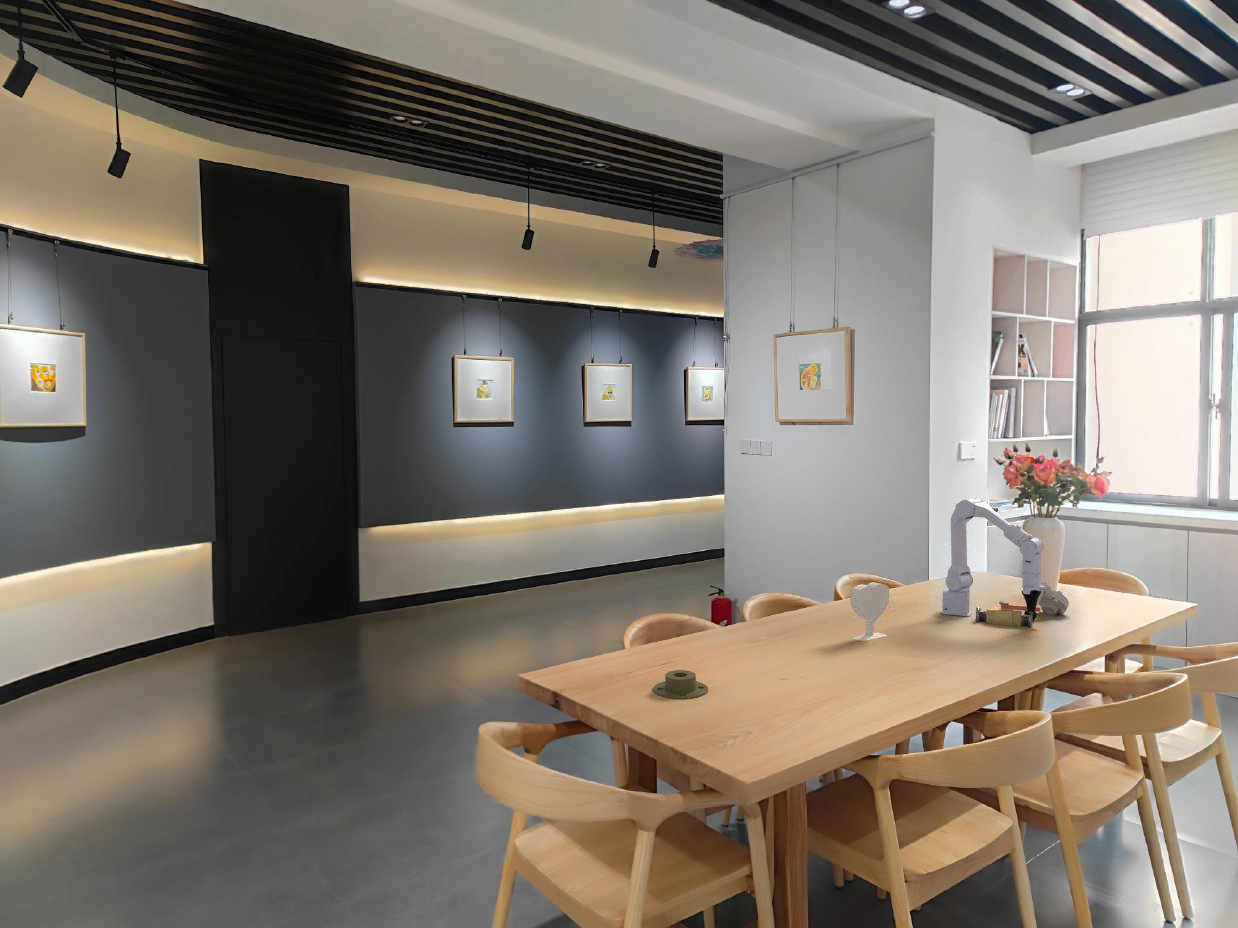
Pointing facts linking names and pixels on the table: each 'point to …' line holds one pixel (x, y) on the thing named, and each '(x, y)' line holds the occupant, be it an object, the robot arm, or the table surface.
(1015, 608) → the lever
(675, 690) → the flange
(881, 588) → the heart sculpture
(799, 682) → the table surface
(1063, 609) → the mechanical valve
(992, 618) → the valve pipe
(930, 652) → the table surface
